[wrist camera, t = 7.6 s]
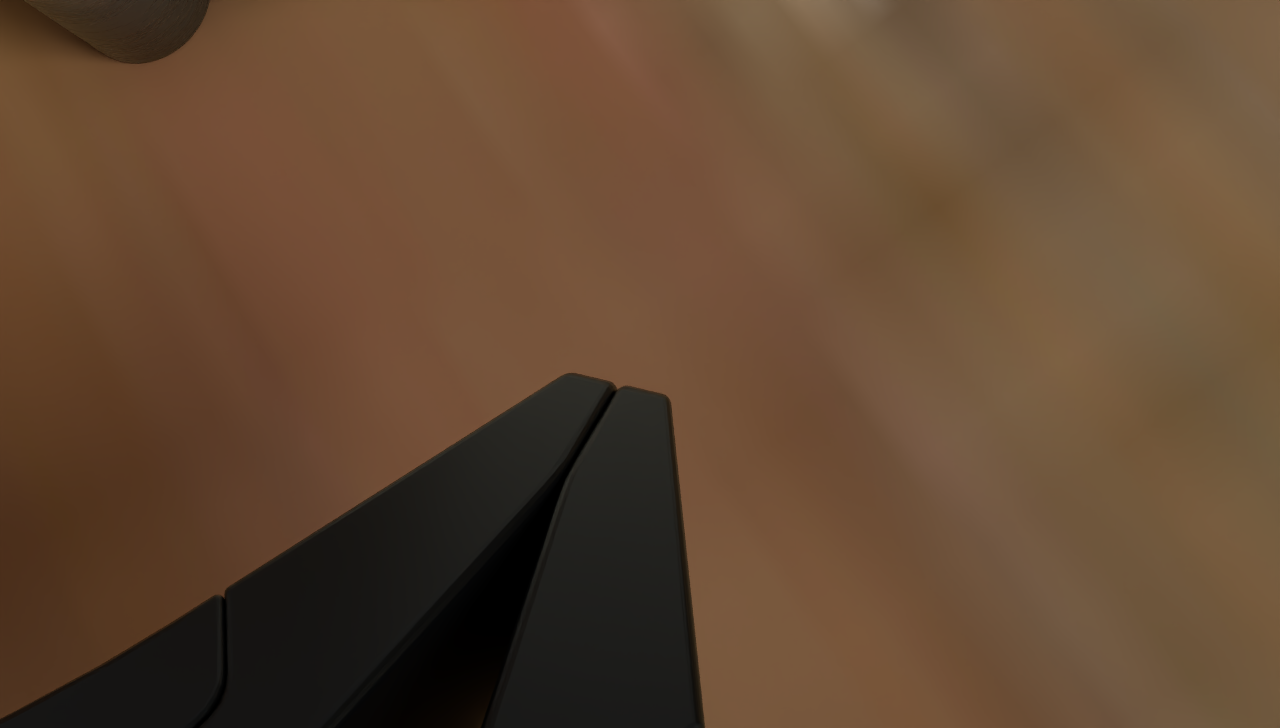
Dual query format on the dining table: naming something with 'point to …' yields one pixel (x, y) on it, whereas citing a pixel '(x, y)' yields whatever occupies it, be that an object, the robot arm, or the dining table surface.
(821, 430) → the dining table surface
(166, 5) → the hinge post
